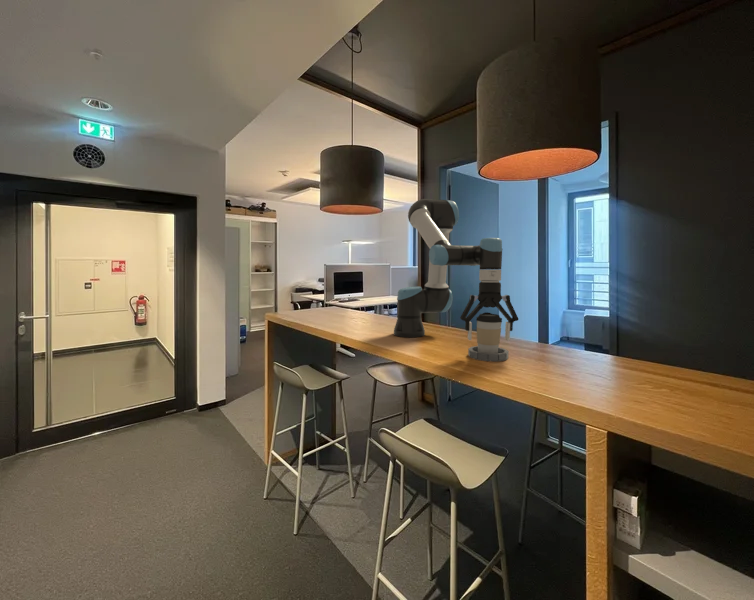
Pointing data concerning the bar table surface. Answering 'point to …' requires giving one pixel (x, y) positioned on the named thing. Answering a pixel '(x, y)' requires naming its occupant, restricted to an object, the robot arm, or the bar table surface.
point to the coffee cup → (488, 333)
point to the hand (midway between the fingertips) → (488, 339)
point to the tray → (500, 356)
